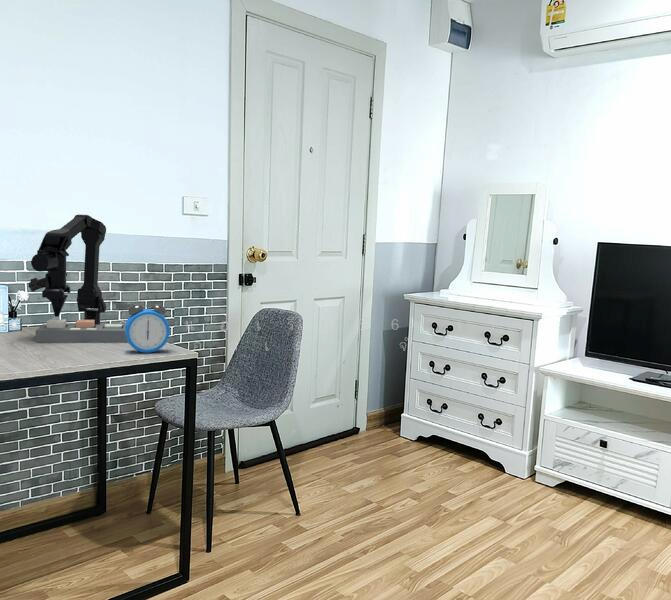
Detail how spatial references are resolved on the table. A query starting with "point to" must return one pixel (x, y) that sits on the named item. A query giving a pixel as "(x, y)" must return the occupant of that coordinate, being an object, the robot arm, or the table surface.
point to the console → (81, 334)
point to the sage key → (113, 326)
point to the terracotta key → (85, 324)
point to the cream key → (56, 323)
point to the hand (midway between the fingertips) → (56, 316)
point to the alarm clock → (147, 328)
